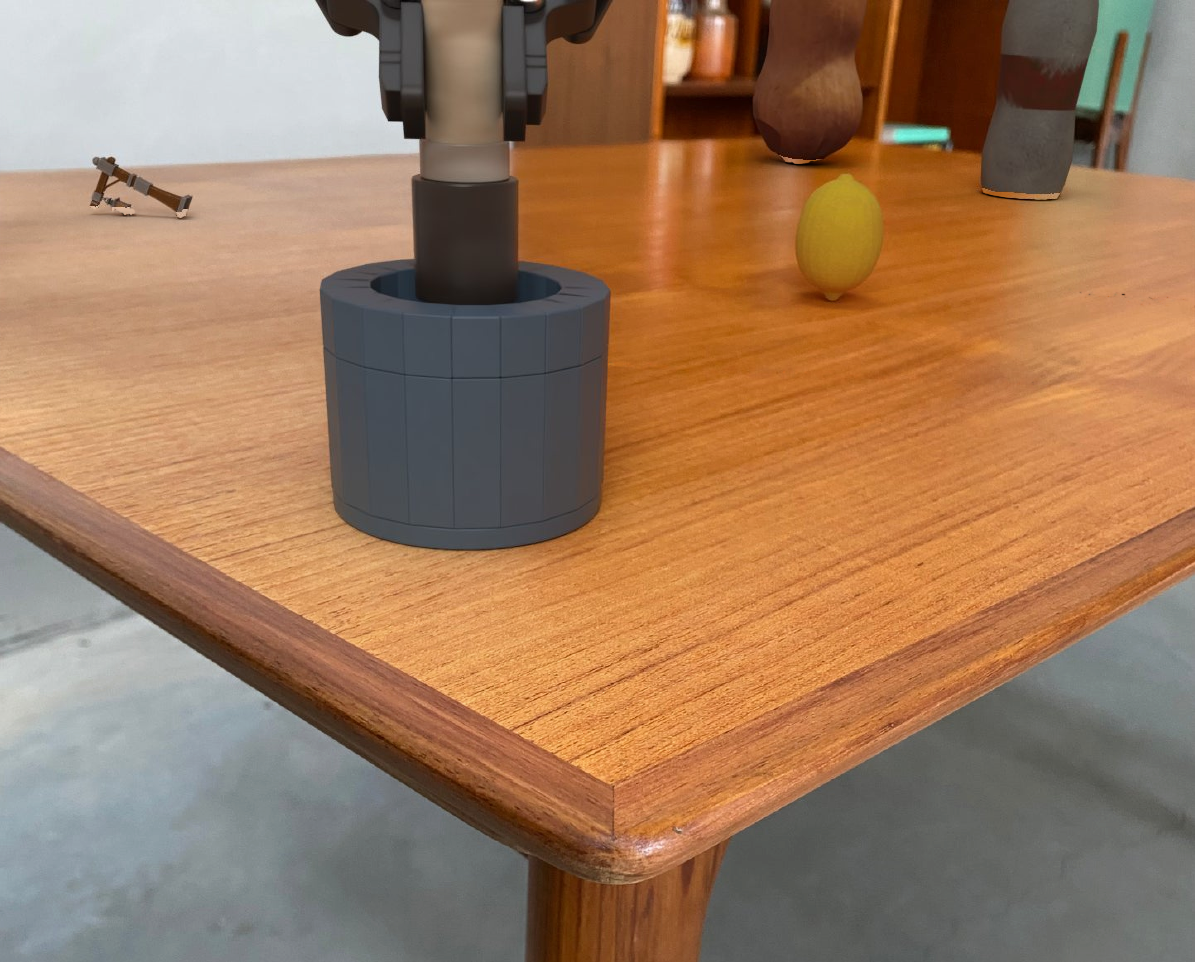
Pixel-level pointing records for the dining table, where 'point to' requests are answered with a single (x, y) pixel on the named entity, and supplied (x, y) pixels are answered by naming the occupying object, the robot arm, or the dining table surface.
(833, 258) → the lemon
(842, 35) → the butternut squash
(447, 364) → the grey paneled mortar
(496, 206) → the tan cylinder
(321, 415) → the dining table surface
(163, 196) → the wooden post with brackets
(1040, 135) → the grey vase with band
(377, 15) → the robot arm
